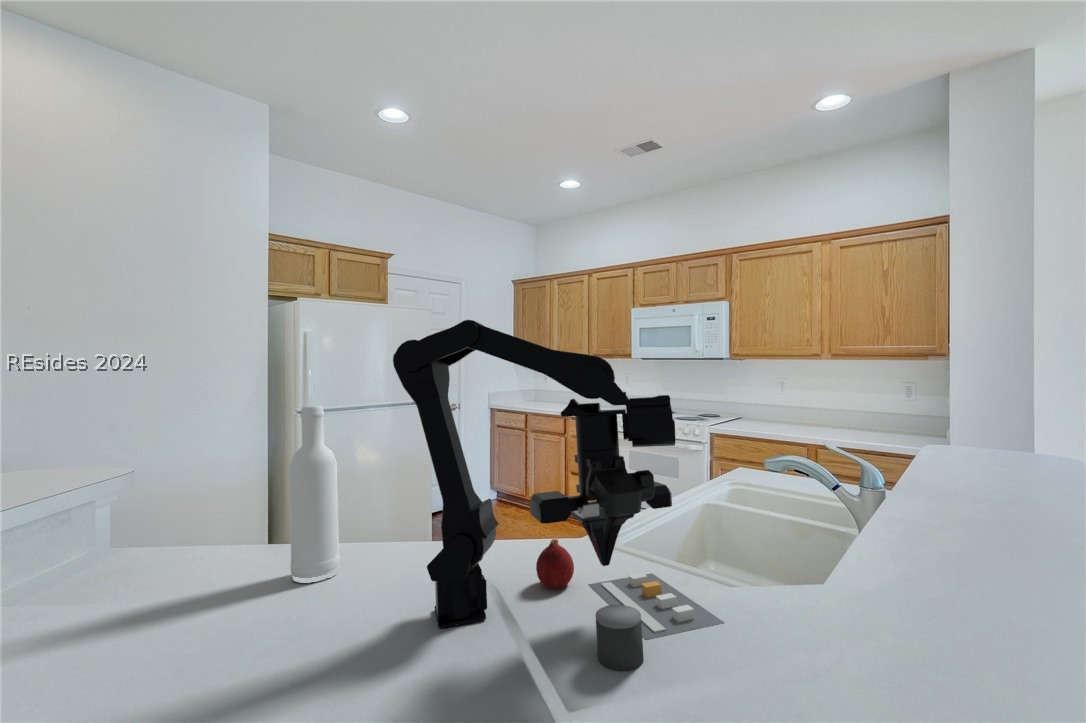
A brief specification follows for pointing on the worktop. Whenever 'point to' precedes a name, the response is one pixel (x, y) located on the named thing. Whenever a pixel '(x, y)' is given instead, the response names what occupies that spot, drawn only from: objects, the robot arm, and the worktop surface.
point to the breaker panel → (656, 606)
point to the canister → (619, 637)
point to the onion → (554, 566)
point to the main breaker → (651, 589)
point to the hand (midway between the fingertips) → (604, 564)
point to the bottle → (313, 501)
